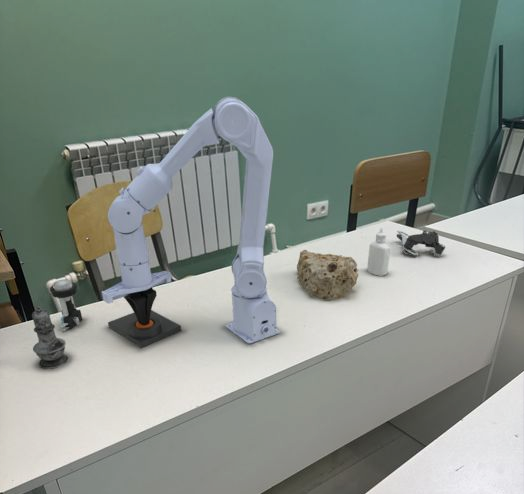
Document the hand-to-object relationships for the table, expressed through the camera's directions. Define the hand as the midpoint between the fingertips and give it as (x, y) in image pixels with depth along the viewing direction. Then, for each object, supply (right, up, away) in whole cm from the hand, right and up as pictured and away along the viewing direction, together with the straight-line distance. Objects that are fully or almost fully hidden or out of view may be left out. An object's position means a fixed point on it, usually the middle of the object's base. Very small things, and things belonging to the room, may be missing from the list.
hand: (144, 323), depth 99 cm
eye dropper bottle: (+55, +15, +30) cm, 65 cm away
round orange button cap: (0, -1, +1) cm, 2 cm away
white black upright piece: (-18, 0, +7) cm, 19 cm away
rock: (+41, +11, +24) cm, 49 cm away
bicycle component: (+71, +24, +45) cm, 88 cm away
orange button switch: (-1, -1, +4) cm, 5 cm away
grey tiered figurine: (-16, -8, -6) cm, 19 cm away
